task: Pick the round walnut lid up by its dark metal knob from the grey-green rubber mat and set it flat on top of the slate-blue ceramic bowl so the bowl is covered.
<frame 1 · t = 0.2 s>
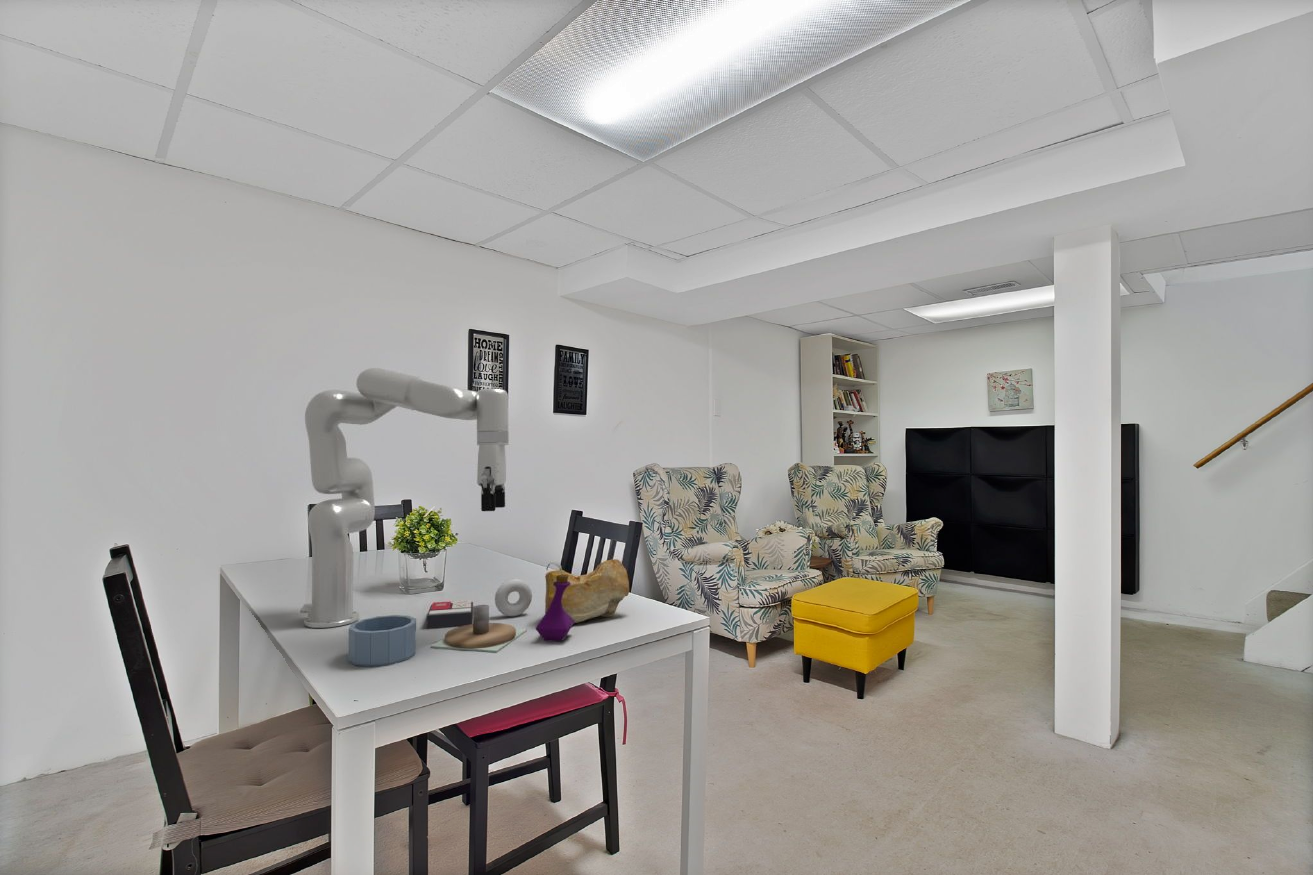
hand: (493, 509, 148), 30 cm above the table, tool pointing down, fingers open, 9 cm apart
rough brown rock: (582, 616, 162), on the table
mat: (480, 639, 142), on the table
perfume bottle: (555, 639, 142), on the table
lid: (480, 637, 142), resting on mat
donut: (513, 617, 162), on the table
flat rectangular box: (450, 621, 159), on the table
bowl: (383, 656, 130), on the table
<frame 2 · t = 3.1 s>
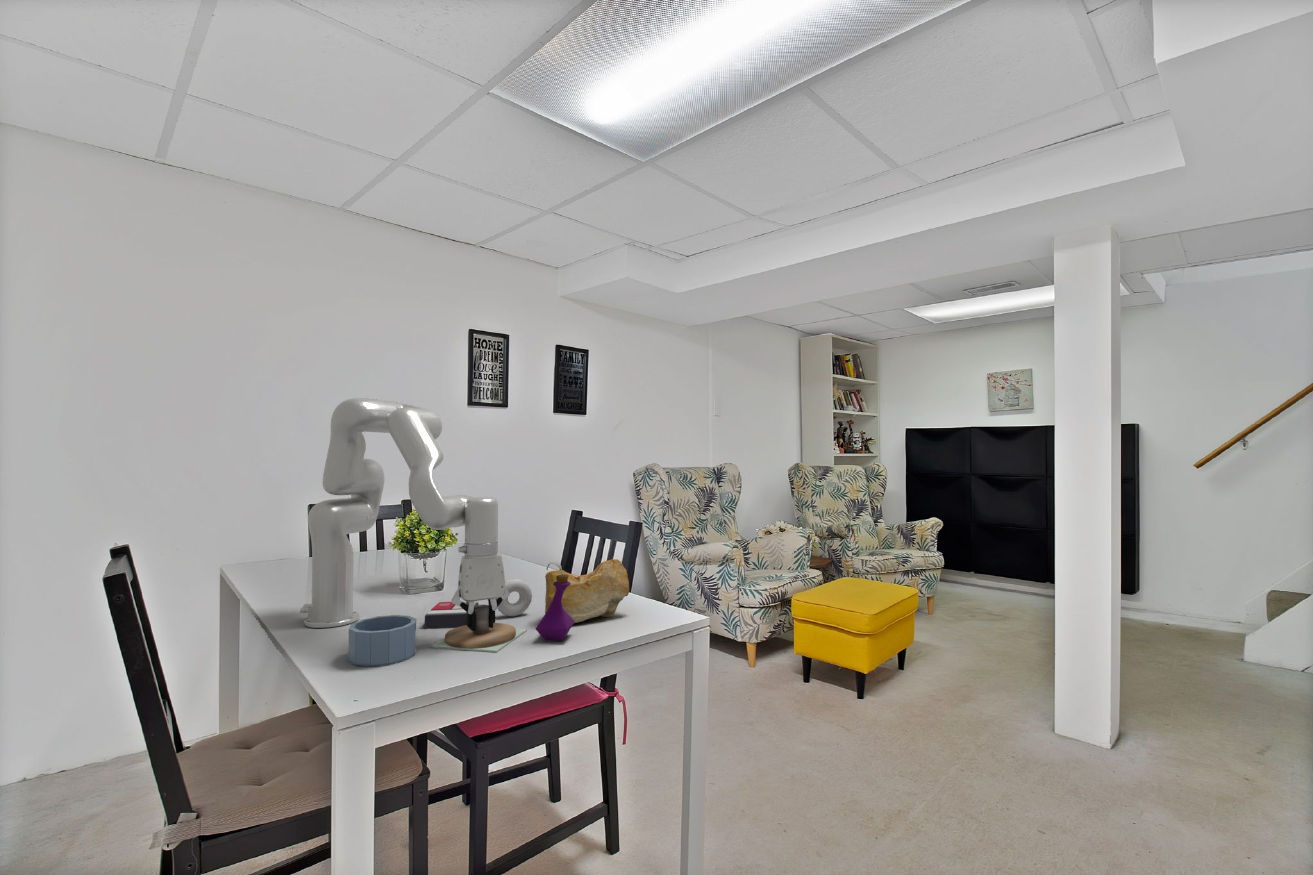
hand: (480, 627, 142), 3 cm above the table, tool pointing down, fingers closed on lid, 3 cm apart
lid: (480, 637, 142), resting on mat, touching gripper
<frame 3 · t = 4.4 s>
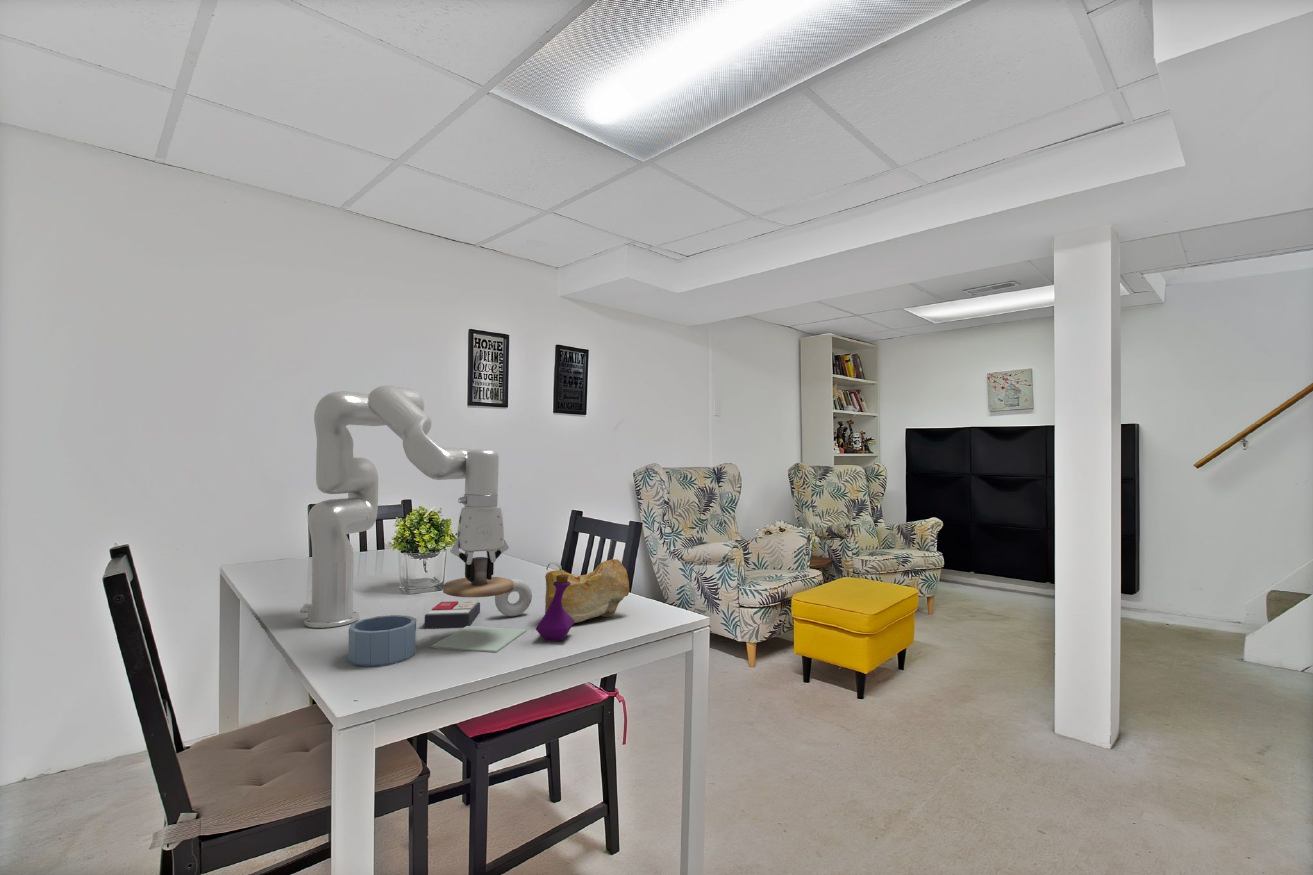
hand: (479, 578, 142), 14 cm above the table, tool pointing down, fingers closed on lid, 3 cm apart
lid: (478, 588, 142), point 12 cm above the table, touching gripper
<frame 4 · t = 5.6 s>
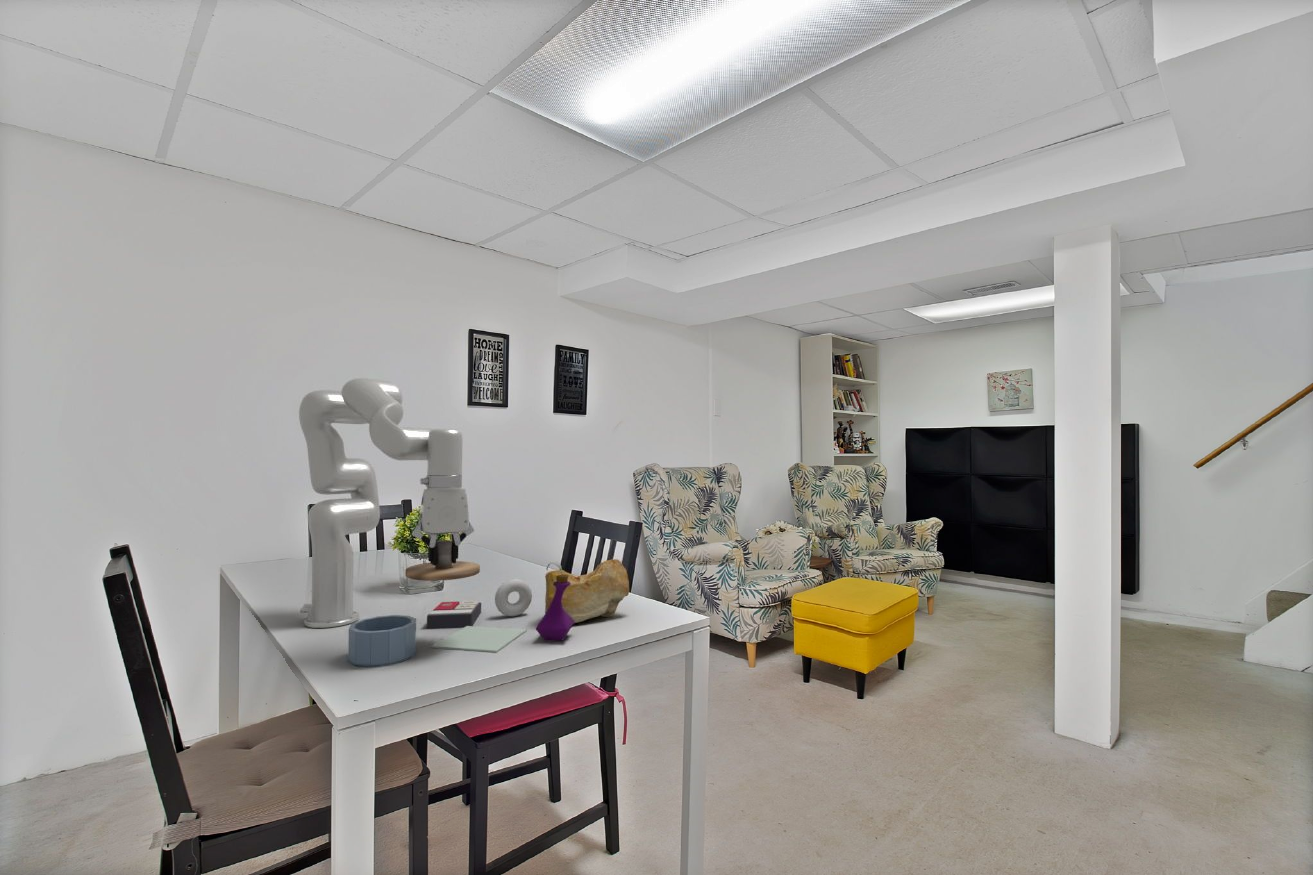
hand: (443, 562, 138), 19 cm above the table, tool pointing down, fingers closed on lid, 3 cm apart
lid: (443, 572, 138), point 16 cm above the table, touching gripper
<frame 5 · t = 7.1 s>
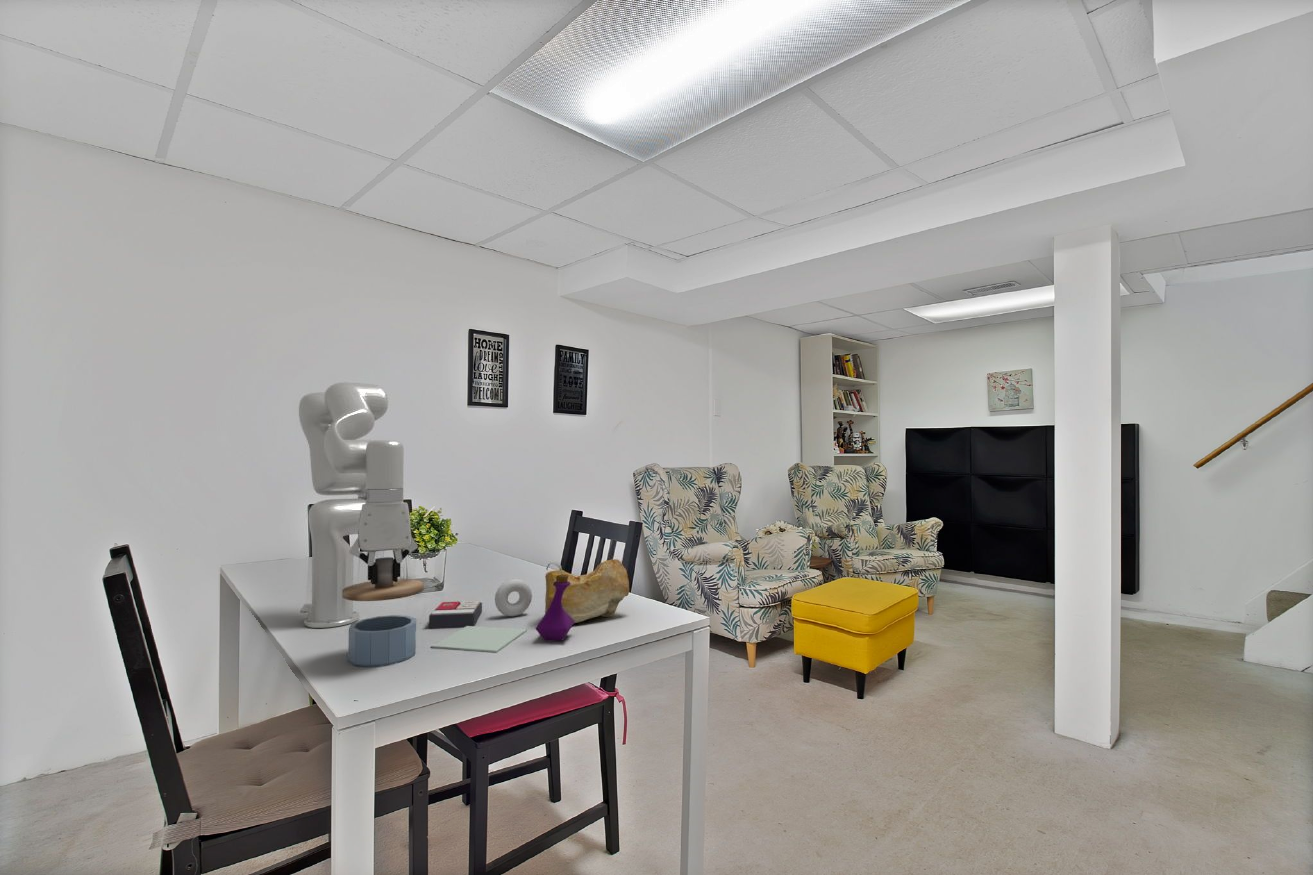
hand: (384, 581, 130), 16 cm above the table, tool pointing down, fingers closed on lid, 3 cm apart
lid: (384, 592, 130), point 14 cm above the table, touching gripper
when the fingers open (11 cm above the table, at t = 8.2 s): lid drops 1 cm, resting on bowl.
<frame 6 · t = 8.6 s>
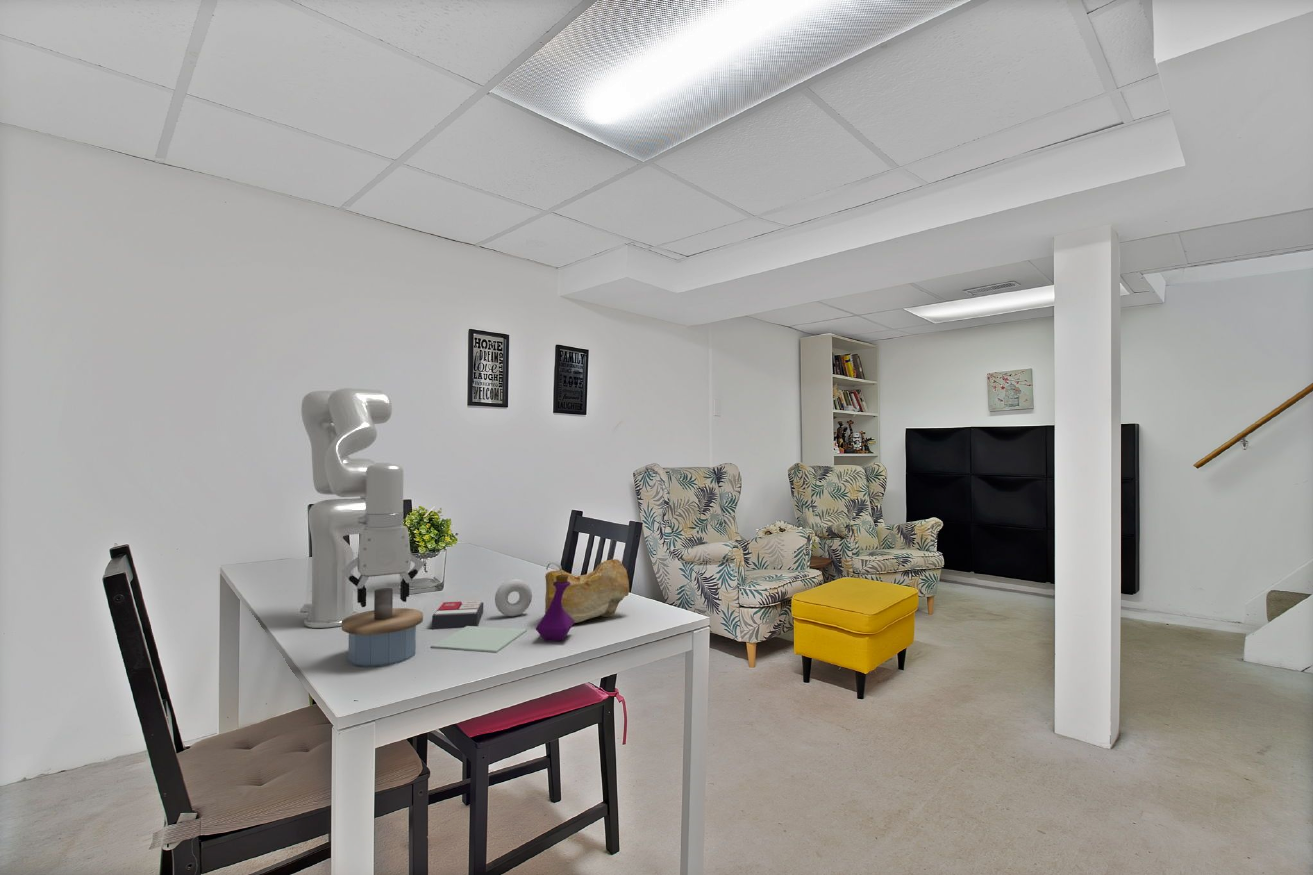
hand: (383, 602, 130), 11 cm above the table, tool pointing down, fingers open, 7 cm apart
lid: (383, 623, 130), point 7 cm above the table, touching bowl
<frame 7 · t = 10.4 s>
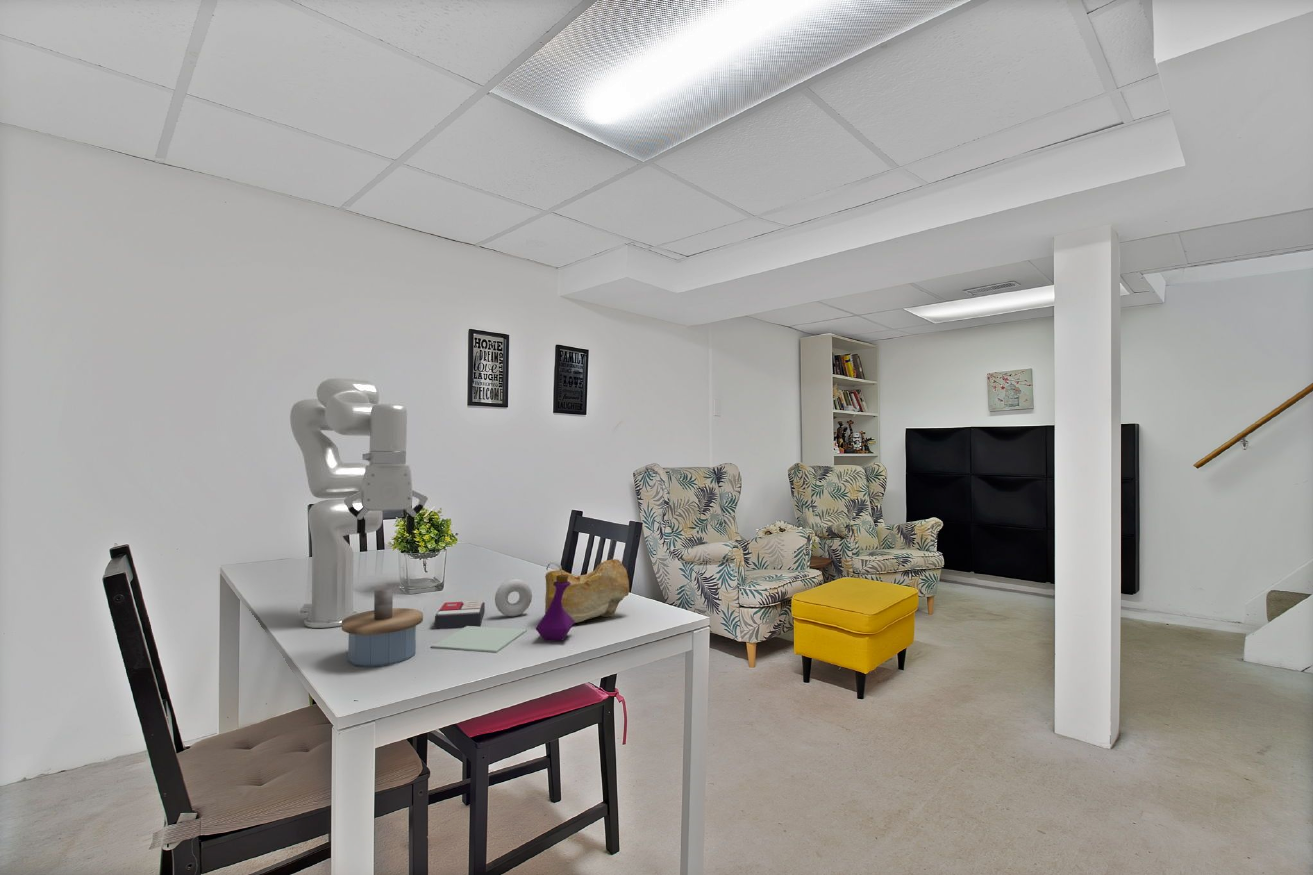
hand: (386, 535, 136), 25 cm above the table, tool pointing down, fingers open, 9 cm apart
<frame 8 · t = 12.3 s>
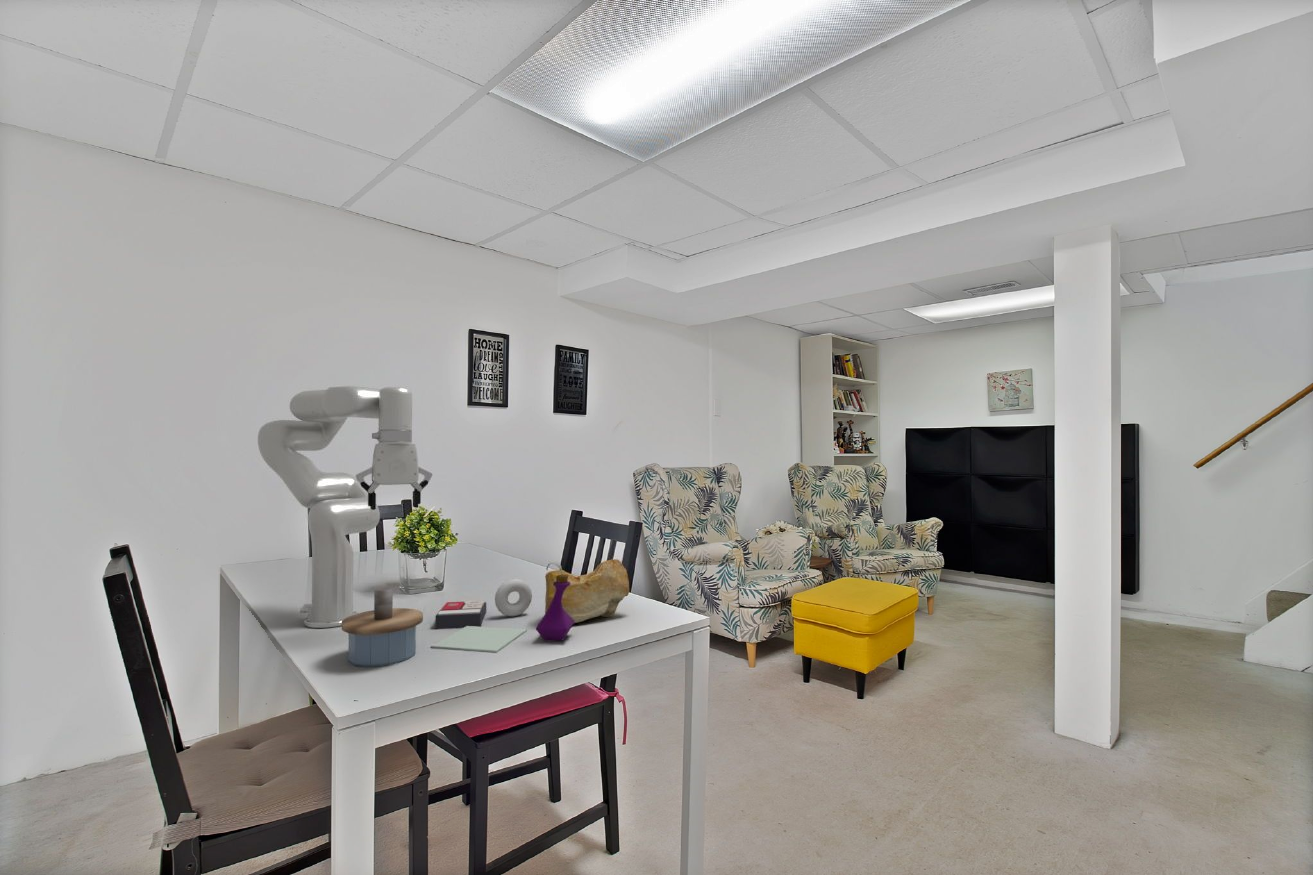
hand: (394, 508, 147), 30 cm above the table, tool pointing down, fingers open, 9 cm apart
at the end: lid 0.0 cm off-centre on the bowl, point 7.0 cm above the bowl's base; lid tilted 0°; the gripper is holding nothing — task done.
